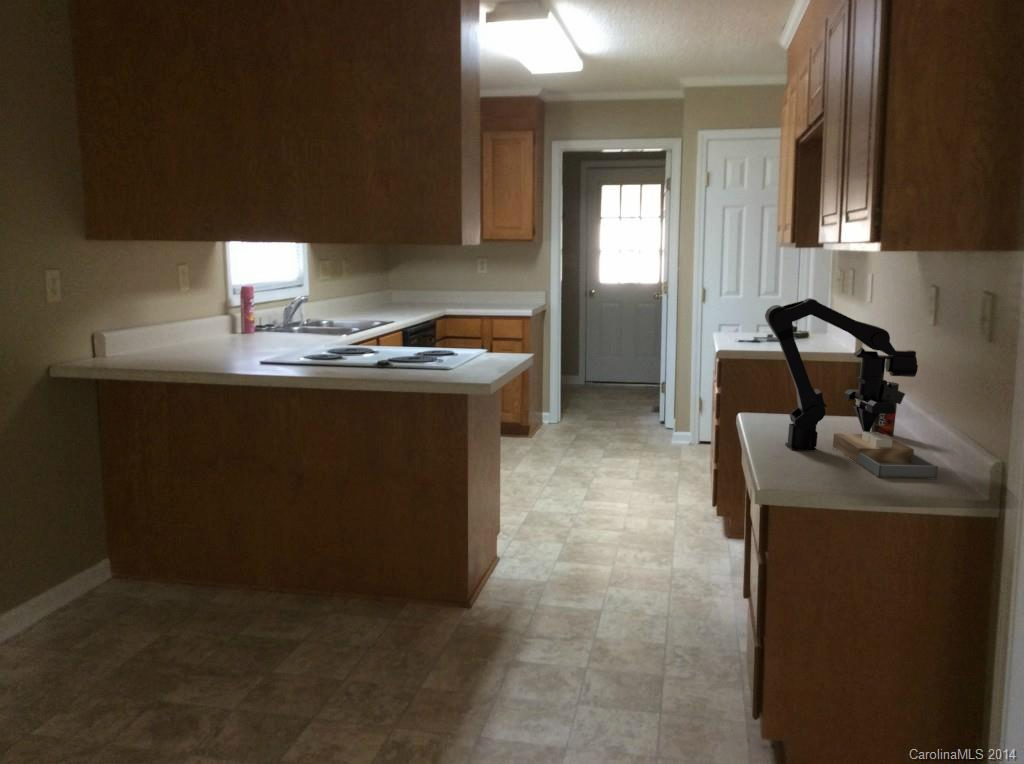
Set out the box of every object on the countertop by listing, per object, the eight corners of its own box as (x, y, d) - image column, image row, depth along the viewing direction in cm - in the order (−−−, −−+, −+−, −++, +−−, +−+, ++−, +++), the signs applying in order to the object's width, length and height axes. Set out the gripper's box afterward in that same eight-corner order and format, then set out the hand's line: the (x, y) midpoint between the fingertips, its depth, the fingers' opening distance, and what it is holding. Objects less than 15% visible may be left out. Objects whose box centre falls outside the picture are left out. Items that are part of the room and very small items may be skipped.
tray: (878, 477, 208) (879, 465, 207) (857, 464, 220) (858, 452, 219) (936, 478, 208) (937, 466, 208) (912, 465, 220) (913, 453, 219)
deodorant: (872, 435, 251) (878, 384, 248) (869, 431, 256) (874, 380, 254) (895, 437, 249) (900, 385, 247) (891, 433, 255) (896, 382, 252)
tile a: (868, 442, 225) (869, 435, 225) (861, 439, 229) (862, 431, 229) (883, 443, 225) (884, 435, 225) (876, 439, 229) (877, 431, 229)
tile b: (875, 447, 221) (876, 439, 220) (869, 443, 225) (869, 435, 224) (891, 447, 221) (892, 439, 220) (884, 443, 225) (885, 436, 224)
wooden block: (857, 463, 220) (858, 448, 219) (832, 447, 235) (834, 433, 235) (912, 464, 220) (914, 449, 219) (884, 448, 236) (885, 434, 235)
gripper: (920, 382, 219) (913, 442, 222) (886, 369, 238) (880, 426, 241) (876, 381, 219) (869, 441, 222) (845, 368, 237) (840, 425, 240)
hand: (866, 433), depth 231 cm, fingers closed
